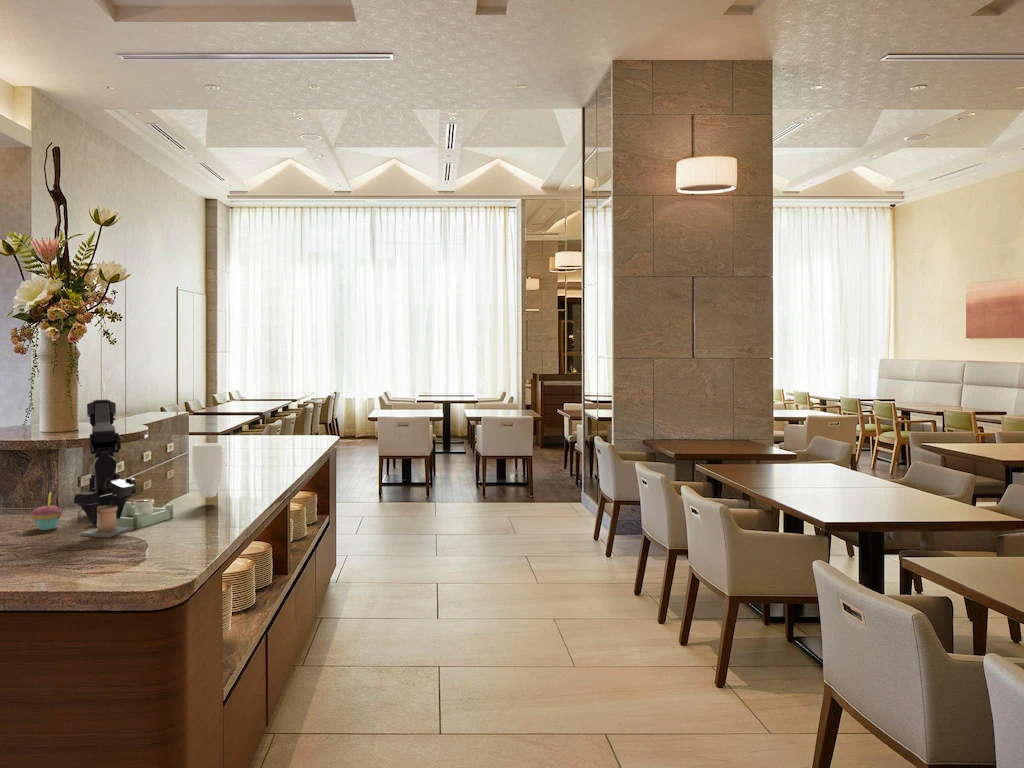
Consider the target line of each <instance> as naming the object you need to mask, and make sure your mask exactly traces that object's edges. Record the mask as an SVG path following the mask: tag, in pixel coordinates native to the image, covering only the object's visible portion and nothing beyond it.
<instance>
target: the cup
mask: <svg viewBox="0 0 1024 768" xmlns="http://www.w3.org/2000/svg"><path fill="white" fill-rule="evenodd" d="M223 459H224V457H223V443H221V442H220V443H219V442H204V443H201V442H200V443H195V444H193V445H192V468H193V471H192V472H193V476H194V480H195V484H196V486H197V489H198V492H199V494H200V496H201V498H214V497H216V496H217V494H218V492H219V487H220V484H221V481H222V475H223V469H224V468H223V467H224V466H223V462H224V461H223Z"/></svg>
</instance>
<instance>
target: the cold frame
mask: <svg viewBox="0 0 1024 768" xmlns="http://www.w3.org/2000/svg"><path fill="white" fill-rule="evenodd" d="M131 516H132V517H131ZM170 518H171V519H174V504H170V503H169V504H165V507H153V514H150V515H146V516H143V517H141V513H135V506H134V505H133V501H126V503H125V505H124V508H123V511H122V514H121V517H120V519H117V518H116V522H117V526H120V527H133V529H141V528H144V527H147V526H151V525H155V524H157V523H161V522H163V520H164V521H167V520H170ZM160 521H161V522H160ZM90 526H95V527H96V526H97V525H93V524H92V523H91V522H90Z"/></svg>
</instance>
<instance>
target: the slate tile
mask: <svg viewBox="0 0 1024 768" xmlns="http://www.w3.org/2000/svg"><path fill="white" fill-rule="evenodd" d="M133 530H134V528H133V527H120V526H117V529H116V530H114V531H109V532H98V531H97V528H93V529H89V530H86V531H83V532H80V536H82V537H94V538H95V537H96V538H110V537H111V538H112V537H114V536H117V535H120V534H124V533H128V532H131V531H133Z"/></svg>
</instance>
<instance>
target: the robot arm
mask: <svg viewBox="0 0 1024 768" xmlns="http://www.w3.org/2000/svg"><path fill="white" fill-rule="evenodd" d="M116 405H117V404H116V402H113V401H111V399H106V398H105V399H95V400H92V402H89V403H87V404H86V417H87V418H89V424H90V425H91V428H92V429H91V433H89V449H90V450H89V451H90V452H89V453H90V455H94V456H93V466H94V467H93V468H92V470H91V473H90V474H91V476H90V477H89V479H88V480H89V491H83V492H80V493H79V492H78V493H75V495H74V496H73V503H74V504H75V505H76V504H77V506H78V507H79V506H80V507H81V509H82V510H83V511H84V513H85V514H86V516H87V518H88V520H89V521H90V524H91V523H92V524H93V525H92V526H95V525H97V508H98V507H99V506H106V505H116V506H118V510H117V511H116V518H117V519H120V517H121V514H122V511H123V508H124V507H125V503H126V502H128V500H129V499H130V498H132V497H133V495H134V494H137V491H136V489H137V487H136V486H137V481H136V479H135V478H133V477H129V478H126V479H121V475H120V472H118V473H117V471H116V469H117V461H116V455H115V454H116V453H119V452H120V450H122V449H121V448H122V445H121V436H120V435H119V433H118V432H116V427H115V425H114V417H116V416H117V406H116Z"/></svg>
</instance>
